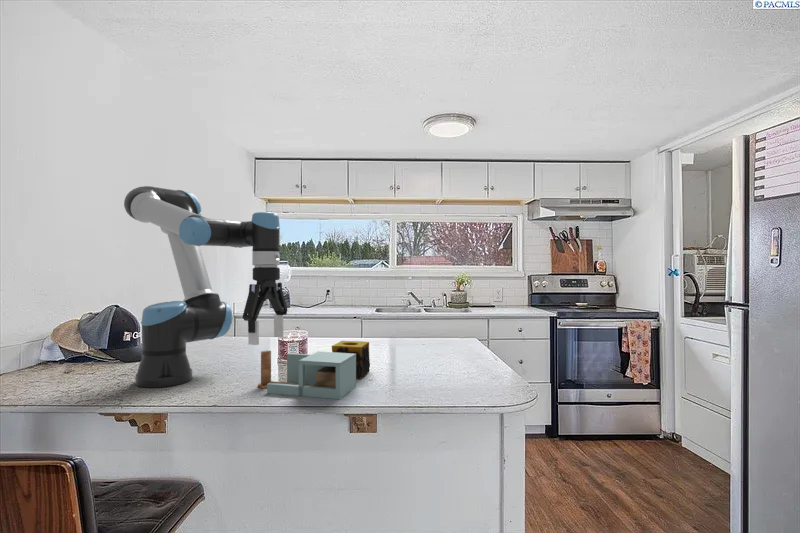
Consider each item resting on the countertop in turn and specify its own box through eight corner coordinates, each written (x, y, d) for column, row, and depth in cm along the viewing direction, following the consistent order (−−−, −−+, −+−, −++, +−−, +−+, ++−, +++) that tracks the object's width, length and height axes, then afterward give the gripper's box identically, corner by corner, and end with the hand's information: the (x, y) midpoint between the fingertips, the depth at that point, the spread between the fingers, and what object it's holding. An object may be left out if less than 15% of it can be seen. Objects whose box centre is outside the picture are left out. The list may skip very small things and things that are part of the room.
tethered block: (253, 388, 127) (253, 353, 127) (264, 382, 133) (264, 349, 133) (336, 395, 121) (336, 358, 121) (344, 389, 127) (344, 353, 127)
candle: (361, 379, 137) (361, 347, 137) (330, 377, 139) (330, 345, 139) (370, 371, 147) (370, 341, 147) (341, 370, 149) (341, 340, 149)
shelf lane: (267, 393, 123) (267, 358, 123) (288, 381, 135) (289, 349, 135) (339, 399, 117) (340, 363, 117) (355, 386, 130) (356, 353, 129)
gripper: (253, 266, 116) (254, 348, 116) (298, 266, 140) (298, 334, 140) (228, 266, 118) (228, 347, 118) (276, 266, 142) (277, 333, 142)
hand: (266, 340), depth 129 cm, fingers open, 13 cm apart
